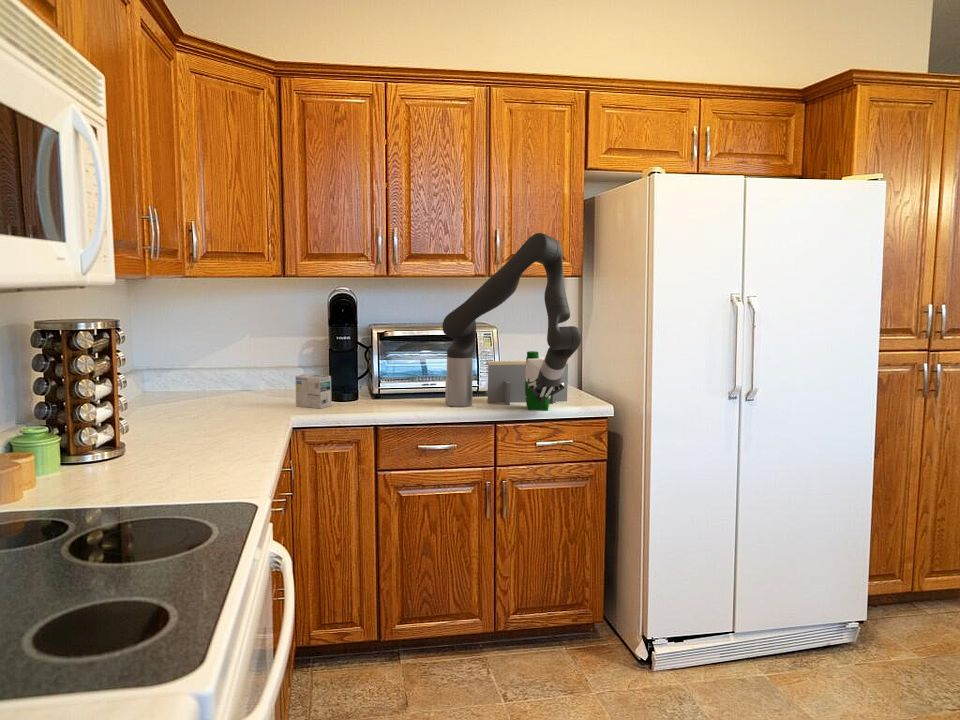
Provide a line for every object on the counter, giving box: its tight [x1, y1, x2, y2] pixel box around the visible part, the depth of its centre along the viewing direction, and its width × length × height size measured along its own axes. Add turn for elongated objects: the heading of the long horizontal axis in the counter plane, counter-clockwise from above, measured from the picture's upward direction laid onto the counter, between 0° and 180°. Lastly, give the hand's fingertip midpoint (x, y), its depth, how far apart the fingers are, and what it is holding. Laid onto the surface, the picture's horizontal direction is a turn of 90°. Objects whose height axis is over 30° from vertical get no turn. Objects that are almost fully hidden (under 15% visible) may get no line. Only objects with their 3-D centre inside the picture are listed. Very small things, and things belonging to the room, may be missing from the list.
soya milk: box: [525, 350, 551, 411], centre depth 255 cm, size 9×9×20 cm
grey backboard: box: [485, 359, 570, 406], centre depth 266 cm, size 31×7×15 cm, turn 102°
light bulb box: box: [295, 373, 332, 410], centre depth 254 cm, size 11×7×11 cm, turn 68°
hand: (540, 400), depth 252 cm, fingers closed
